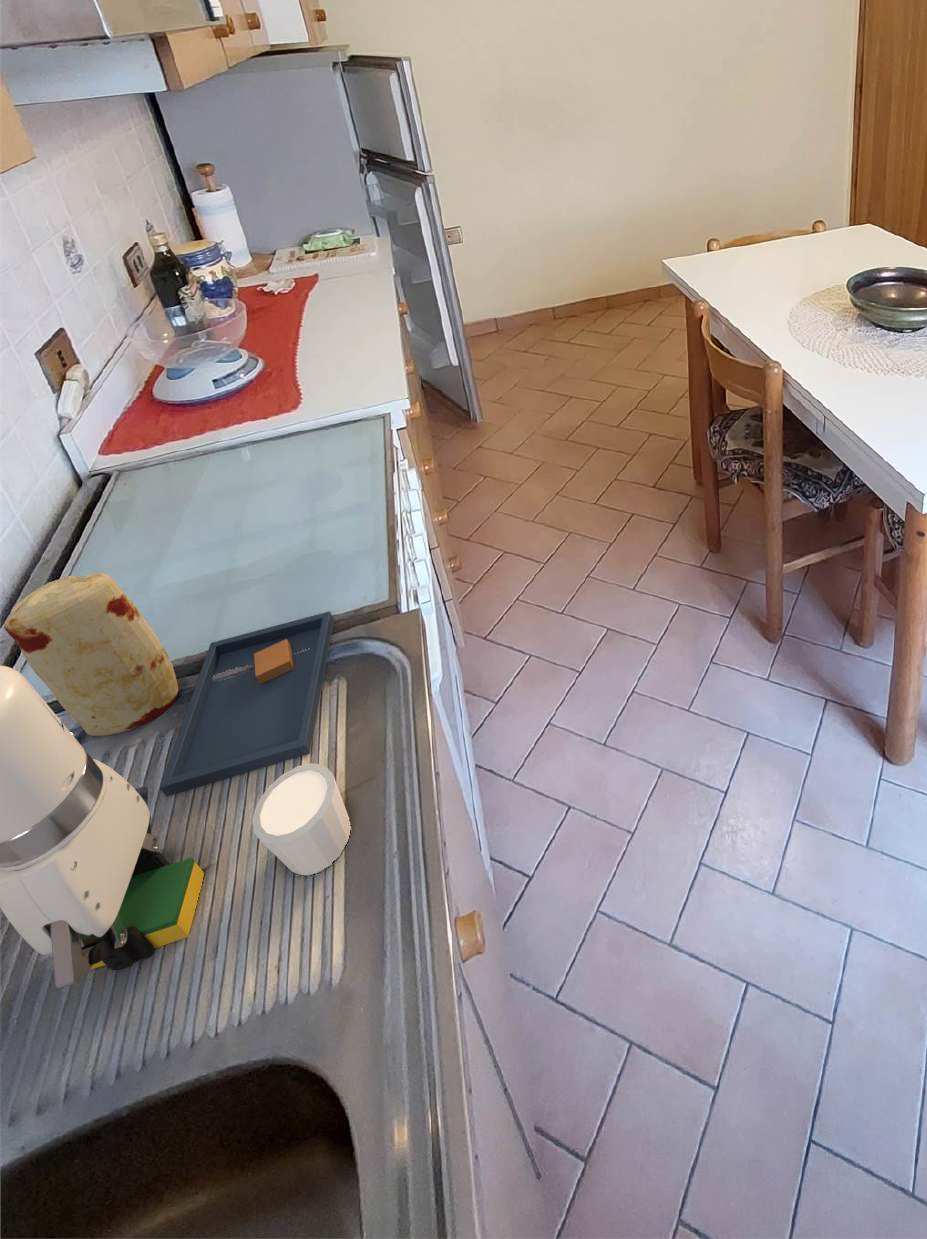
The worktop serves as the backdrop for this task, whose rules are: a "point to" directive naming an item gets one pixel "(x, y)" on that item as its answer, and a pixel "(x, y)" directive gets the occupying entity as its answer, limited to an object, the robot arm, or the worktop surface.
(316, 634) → the tray
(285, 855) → the white cylinder
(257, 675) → the orange flat block
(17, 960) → the worktop surface
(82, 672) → the food model
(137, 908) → the sponge
